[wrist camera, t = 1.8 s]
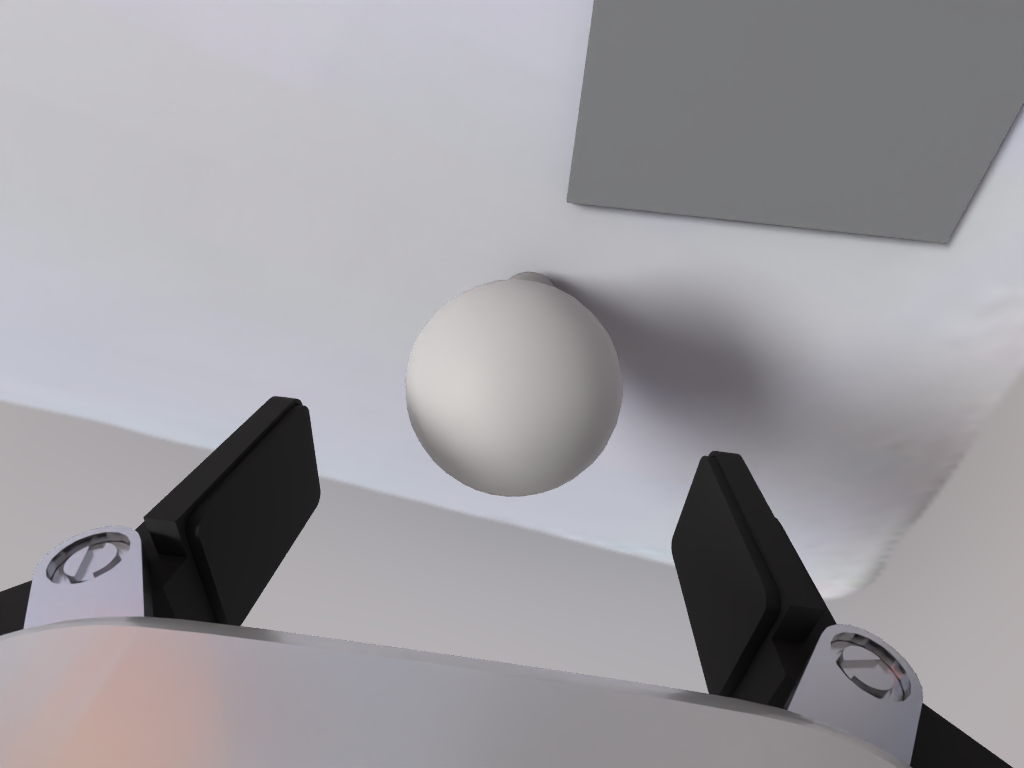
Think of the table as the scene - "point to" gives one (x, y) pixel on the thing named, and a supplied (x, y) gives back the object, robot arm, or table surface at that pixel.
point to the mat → (798, 110)
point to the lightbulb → (514, 387)
